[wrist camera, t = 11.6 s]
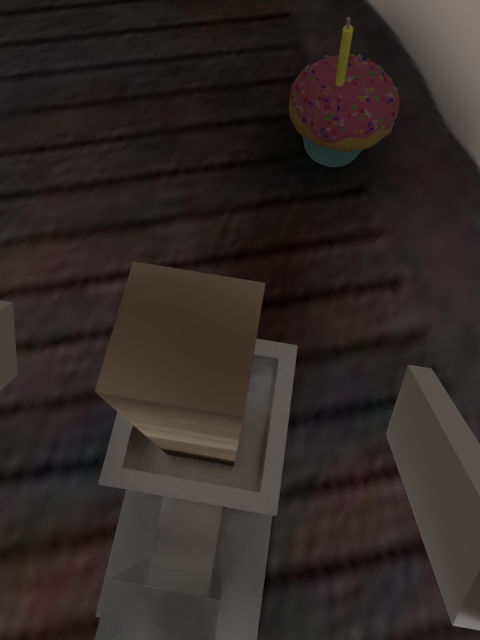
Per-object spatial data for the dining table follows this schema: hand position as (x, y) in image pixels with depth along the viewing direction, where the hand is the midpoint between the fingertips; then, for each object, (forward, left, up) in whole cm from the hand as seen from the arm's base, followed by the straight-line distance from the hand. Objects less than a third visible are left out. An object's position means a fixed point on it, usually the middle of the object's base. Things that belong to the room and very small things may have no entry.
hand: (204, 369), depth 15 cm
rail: (0, 0, -10) cm, 10 cm away
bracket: (+3, -2, -16) cm, 16 cm away
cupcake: (-20, +18, -16) cm, 31 cm away
